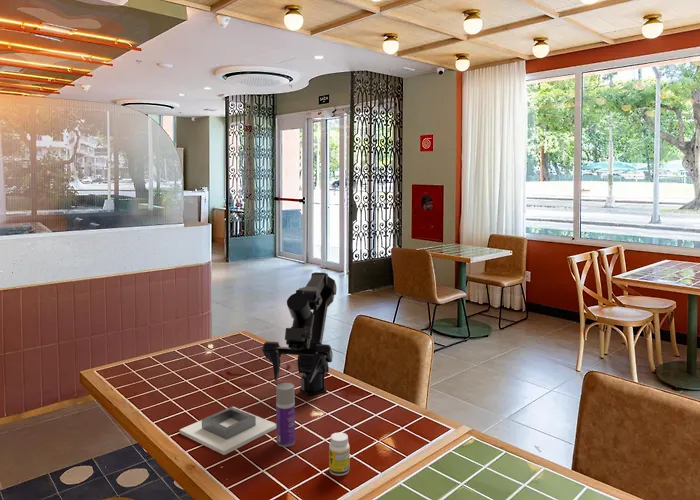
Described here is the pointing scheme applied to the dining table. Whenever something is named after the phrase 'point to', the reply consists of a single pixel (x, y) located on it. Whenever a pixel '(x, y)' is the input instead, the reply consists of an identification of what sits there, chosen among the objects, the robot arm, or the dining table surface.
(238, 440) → the mat
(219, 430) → the collar
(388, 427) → the dining table surface
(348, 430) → the dining table surface
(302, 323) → the robot arm
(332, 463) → the supplement bottle
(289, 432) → the container
